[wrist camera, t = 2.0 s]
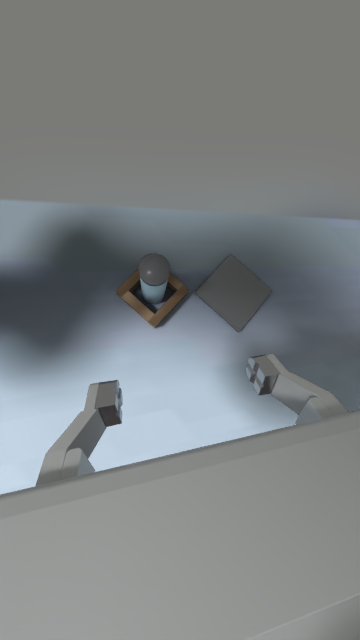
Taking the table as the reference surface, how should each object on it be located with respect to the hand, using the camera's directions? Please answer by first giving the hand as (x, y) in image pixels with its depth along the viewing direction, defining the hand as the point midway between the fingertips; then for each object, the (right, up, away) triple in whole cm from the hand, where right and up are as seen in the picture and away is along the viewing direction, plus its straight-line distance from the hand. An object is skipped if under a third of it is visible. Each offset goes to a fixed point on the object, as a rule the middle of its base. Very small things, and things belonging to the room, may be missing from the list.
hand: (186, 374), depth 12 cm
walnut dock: (-5, +8, +24) cm, 26 cm away
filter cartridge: (-5, +8, +24) cm, 26 cm away
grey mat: (+10, +9, +27) cm, 30 cm away
